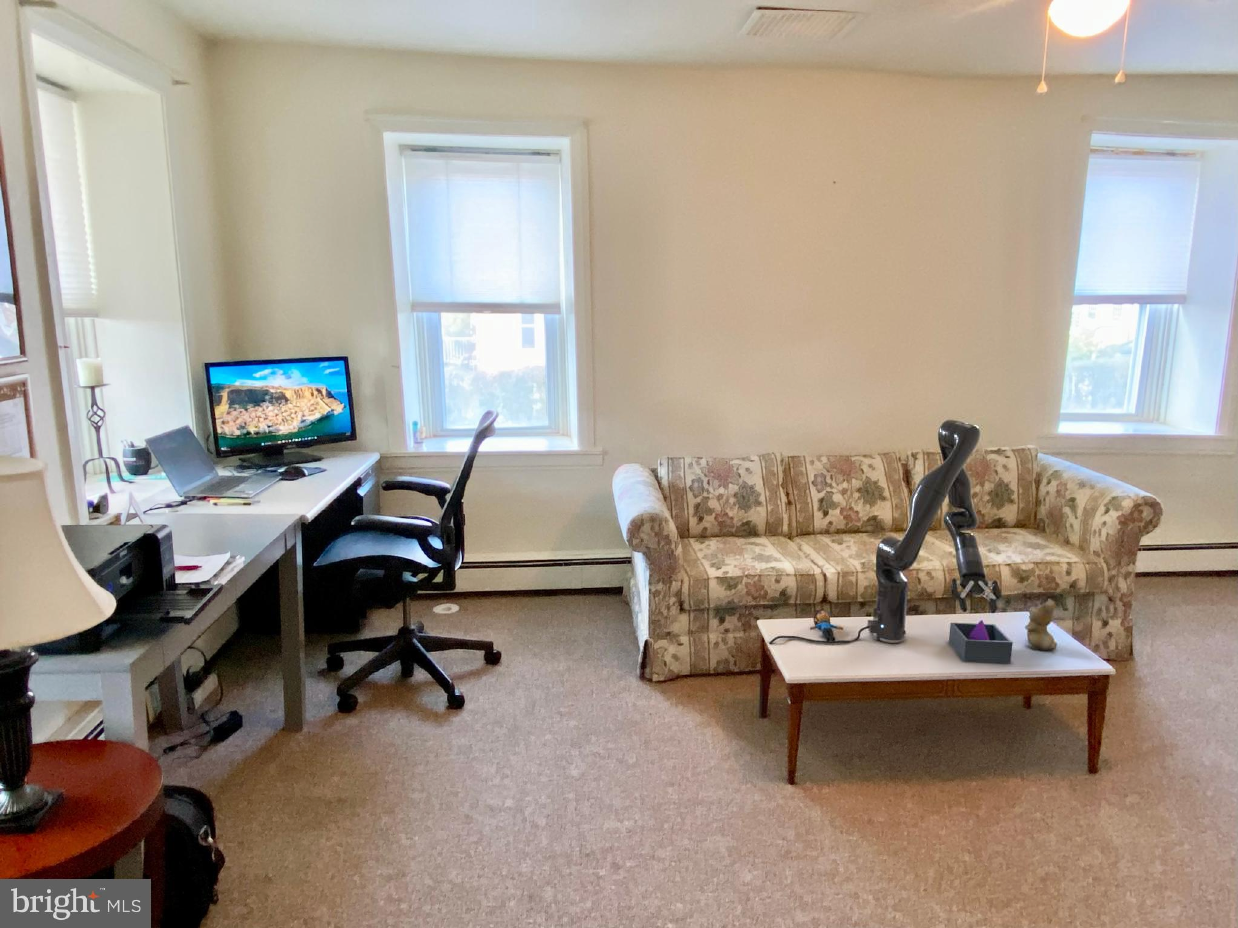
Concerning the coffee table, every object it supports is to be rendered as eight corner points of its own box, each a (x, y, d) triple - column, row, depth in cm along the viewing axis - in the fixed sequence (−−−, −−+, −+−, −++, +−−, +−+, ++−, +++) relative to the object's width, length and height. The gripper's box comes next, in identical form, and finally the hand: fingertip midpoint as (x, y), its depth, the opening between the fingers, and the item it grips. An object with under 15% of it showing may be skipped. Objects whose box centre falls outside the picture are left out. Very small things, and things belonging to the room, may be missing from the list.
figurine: (1018, 637, 245) (1023, 593, 242) (1047, 640, 243) (1052, 596, 240) (1028, 650, 235) (1033, 605, 232) (1058, 653, 234) (1064, 607, 231)
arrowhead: (975, 663, 234) (954, 635, 238) (977, 662, 235) (956, 634, 239) (1002, 649, 228) (980, 621, 231) (1004, 647, 229) (982, 619, 233)
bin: (963, 661, 228) (965, 640, 226) (948, 642, 241) (950, 622, 240) (1010, 663, 227) (1012, 642, 225) (992, 644, 240) (994, 624, 238)
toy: (814, 633, 240) (804, 605, 253) (812, 648, 242) (802, 619, 256) (849, 633, 240) (836, 605, 253) (846, 648, 242) (834, 619, 256)
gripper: (950, 558, 240) (959, 605, 231) (996, 560, 239) (1007, 607, 230) (943, 568, 246) (952, 615, 237) (988, 570, 245) (999, 617, 236)
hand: (979, 611), depth 233 cm, fingers open, 8 cm apart
